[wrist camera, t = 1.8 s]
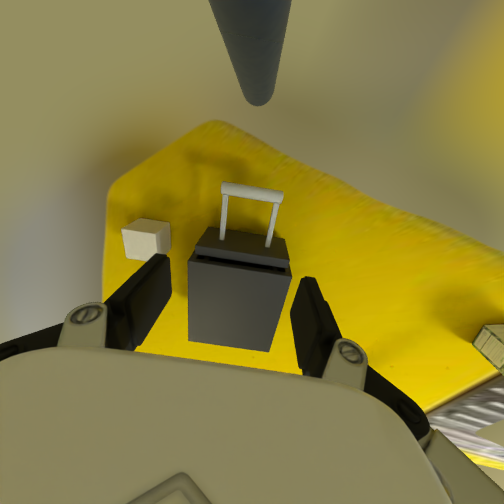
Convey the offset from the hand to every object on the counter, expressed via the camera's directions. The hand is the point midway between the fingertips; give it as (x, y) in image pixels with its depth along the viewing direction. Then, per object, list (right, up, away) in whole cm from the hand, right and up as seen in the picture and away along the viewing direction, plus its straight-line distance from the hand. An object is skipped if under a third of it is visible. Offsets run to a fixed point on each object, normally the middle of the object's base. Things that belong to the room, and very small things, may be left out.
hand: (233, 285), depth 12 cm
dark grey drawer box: (-1, -2, +22) cm, 22 cm away
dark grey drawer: (0, +2, +18) cm, 18 cm away
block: (-14, +5, +18) cm, 24 cm away
